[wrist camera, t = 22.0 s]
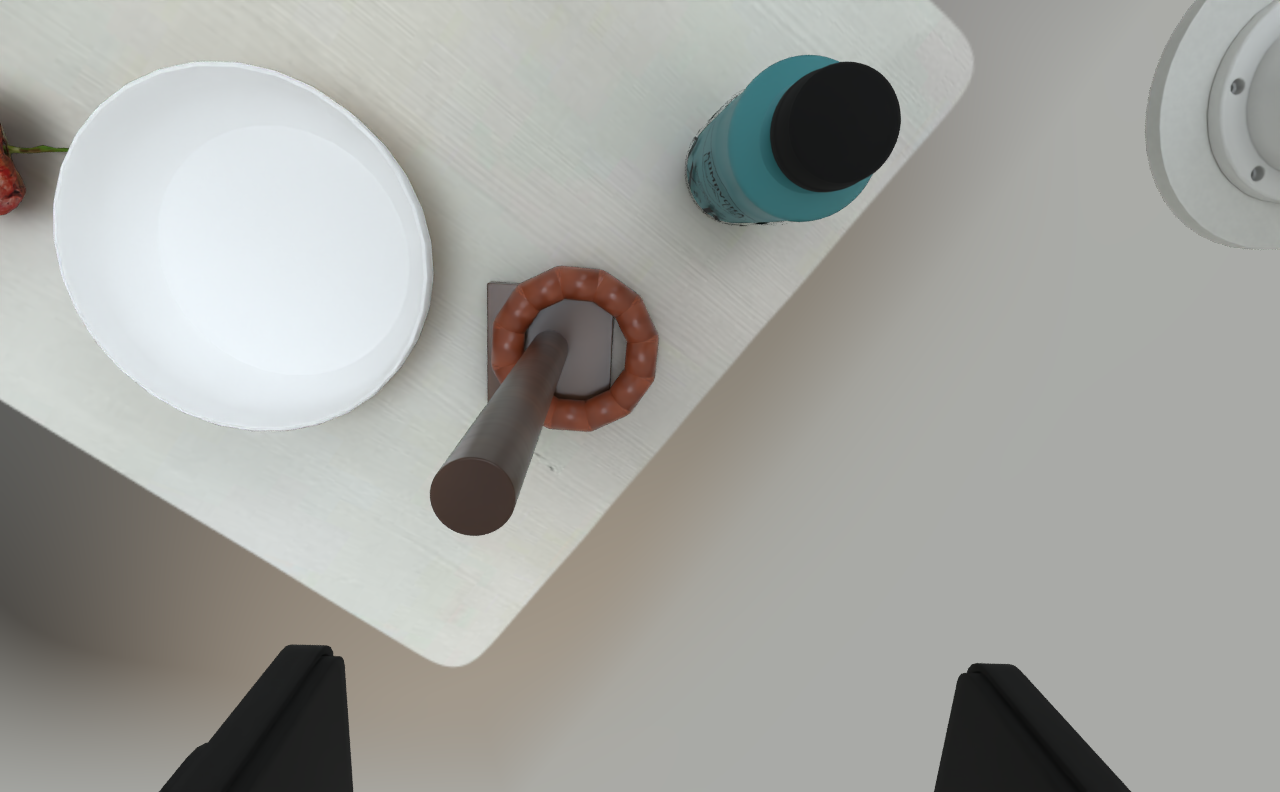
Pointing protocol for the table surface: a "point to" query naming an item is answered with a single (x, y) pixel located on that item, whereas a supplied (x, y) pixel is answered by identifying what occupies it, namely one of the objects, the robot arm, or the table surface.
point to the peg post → (521, 410)
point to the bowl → (242, 246)
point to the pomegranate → (14, 173)
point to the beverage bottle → (795, 142)
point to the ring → (615, 302)
